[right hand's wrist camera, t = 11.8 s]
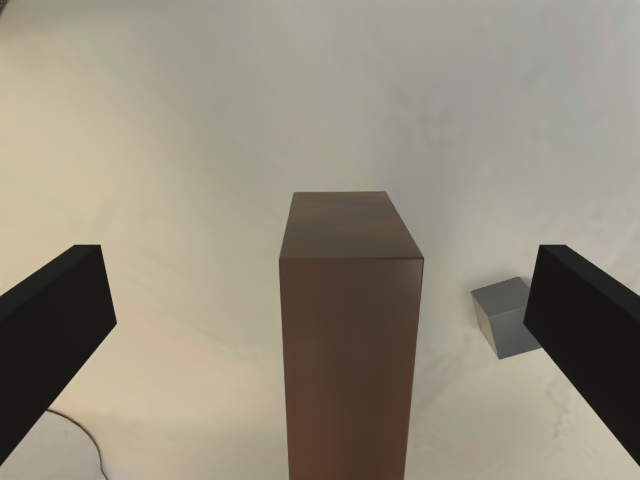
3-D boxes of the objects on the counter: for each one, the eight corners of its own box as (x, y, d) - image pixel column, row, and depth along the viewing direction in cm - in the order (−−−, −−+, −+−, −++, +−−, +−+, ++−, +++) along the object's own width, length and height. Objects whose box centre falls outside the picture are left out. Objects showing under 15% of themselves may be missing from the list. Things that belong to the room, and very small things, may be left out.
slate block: (480, 330, 44) (499, 360, 40) (470, 291, 43) (488, 317, 38) (527, 316, 44) (552, 345, 39) (519, 276, 42) (543, 301, 37)
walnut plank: (304, 545, 30) (299, 702, 22) (293, 191, 20) (278, 258, 13) (367, 545, 30) (383, 702, 22) (385, 191, 20) (424, 257, 13)
